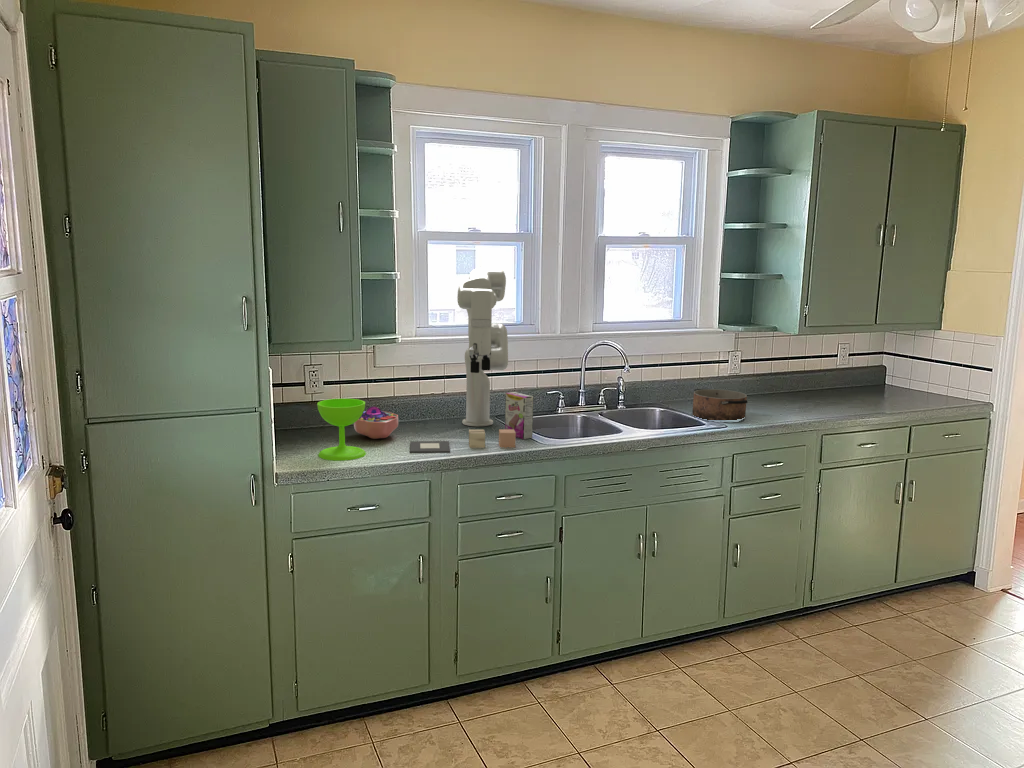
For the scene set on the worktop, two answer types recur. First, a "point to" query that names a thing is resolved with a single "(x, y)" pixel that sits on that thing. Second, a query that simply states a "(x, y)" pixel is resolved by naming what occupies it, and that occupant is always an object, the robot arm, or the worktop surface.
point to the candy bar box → (519, 414)
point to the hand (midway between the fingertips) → (480, 371)
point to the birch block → (476, 438)
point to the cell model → (376, 423)
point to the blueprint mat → (429, 447)
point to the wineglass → (341, 426)
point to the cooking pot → (719, 404)
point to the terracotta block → (507, 438)
